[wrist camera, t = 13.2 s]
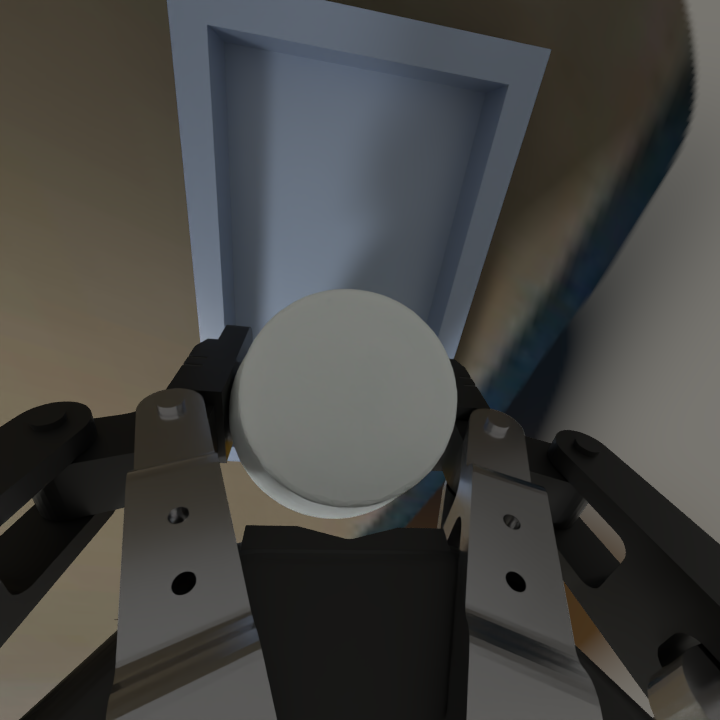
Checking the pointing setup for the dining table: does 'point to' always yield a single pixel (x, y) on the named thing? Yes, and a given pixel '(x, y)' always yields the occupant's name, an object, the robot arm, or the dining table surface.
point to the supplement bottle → (342, 403)
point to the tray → (342, 155)
